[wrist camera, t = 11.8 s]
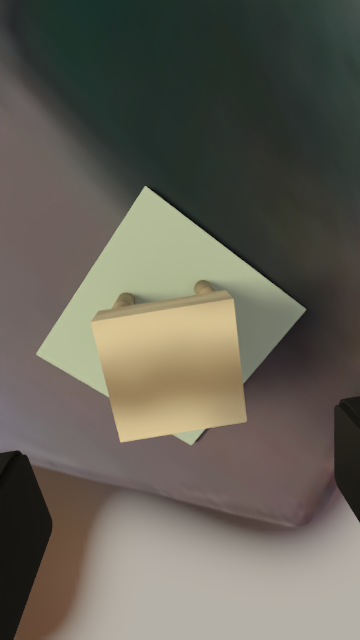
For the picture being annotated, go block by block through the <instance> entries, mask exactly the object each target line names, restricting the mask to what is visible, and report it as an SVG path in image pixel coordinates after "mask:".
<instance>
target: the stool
mask: <svg viewBox="0 0 360 640" xmlns="http://www.w3.org/2000/svg"><path fill="white" fill-rule="evenodd" d="M194 291H195V293H196V295H193V296H187V297H181V298H175V299H168V300H162V301H156V302H150V303H144V304H138V305H134V304H135V299H134V297H133V295H132V294H130V293H127V292H125V293H122V294H120V295H119V297H118V298H117V300H116V302H115V303H114V305H113V307H112V308H111V309H107V310H101V311H98V312H97V314H96V315H95V316H94V318H93V319H92V320H91V326H92V330H93V334H94V338H95V342H96V346H97V350H98V354H99V358H100V362H101V366H102V370H103V374H104V378H105V382H106V386H107V390H108V394H109V398H110V402H111V406H112V410H113V414H114V418H115V422H116V426H117V430H118V434H119V438H120V442H126V441H132V440H138V439H144V438H150V437H157V436H163V435H169V434H175V433H181V432H187V431H194V430H200V429H206V428H212V427H218V426H224V425H230V424H237V423H243V422H247V418H246V409H245V400H244V390H243V381H242V372H241V363H240V353H239V344H238V335H237V326H236V316H235V307H234V299H233V297H232V296H231V295H230V294H229V293H228V292H227V291H226V290H224V291H218V292H216V291H215V290H214V288H213V287H212V286H211V284H210V283H209V282H208V281H206V280H200V281H198V282H197V283H196V284H195V286H194Z"/></svg>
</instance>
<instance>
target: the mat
mask: <svg viewBox="0 0 360 640" xmlns="http://www.w3.org/2000/svg"><path fill="white" fill-rule="evenodd" d="M200 280H206V281H208V282H209V283H210V284H211V286H212V287H213V288H214V290H215V291H216V292H218V291H224V290H226V291H227V292H228V293H229V294H230V295H231V296H232V297H233V299H234V307H235V316H236V326H237V335H238V344H239V353H240V363H241V372H242V381H243V384H244V383H245V381H246V380H247V379H248V378H249V377H250V376H251V374H252V373H253V372H254V371H255V370H256V368H257V367H258V366H259V365H260V364H261V363H262V361H263V360H264V359H265V358H266V357H267V355H268V354H269V353H270V352H271V351H272V350H273V348H274V347H275V346H276V345H277V344H278V343H279V341H280V340H281V339H282V338H283V337H284V335H285V334H286V333H287V332H288V331H289V330H290V328H291V327H292V326H293V325H294V324H295V322H296V321H297V320H298V319H299V318H300V317H301V315H302V314H303V313H304V312H305V311H306V309H305V308H304V307H303V306H301V305H300V304H299V303H297V302H296V301H295V300H294V299H292V298H291V297H290V296H288V295H287V294H286V293H284V292H283V291H282V290H281V289H279V288H278V287H277V286H275V285H274V284H273V283H271V282H270V281H269V280H267V279H266V278H265V277H264V276H262V275H261V274H260V273H258V272H257V271H256V270H254V269H253V268H252V267H251V266H249V265H248V264H247V263H245V262H244V261H243V260H241V259H240V258H239V257H237V256H236V255H235V254H234V253H232V252H231V251H230V250H228V249H227V248H226V247H224V246H223V245H222V244H221V243H219V242H218V241H217V240H215V239H214V238H213V237H211V236H210V235H209V234H207V233H206V232H205V231H204V230H202V229H201V228H200V227H198V226H197V225H196V224H194V223H193V222H192V221H190V220H189V219H188V218H187V217H185V216H184V215H183V214H181V213H180V212H179V211H177V210H176V209H175V208H174V207H172V206H171V205H170V204H168V203H167V202H166V201H164V200H163V199H162V198H160V197H159V196H158V195H157V194H155V193H154V192H153V191H151V190H150V189H149V188H147V187H146V186H145V187H144V189H143V190H142V192H141V193H140V195H139V196H138V198H137V199H136V201H135V203H134V204H133V206H132V207H131V209H130V210H129V212H128V213H127V215H126V216H125V218H124V220H123V221H122V223H121V224H120V226H119V227H118V229H117V230H116V232H115V233H114V235H113V236H112V238H111V240H110V241H109V243H108V244H107V246H106V247H105V249H104V250H103V252H102V253H101V255H100V256H99V258H98V260H97V261H96V263H95V264H94V266H93V267H92V269H91V270H90V272H89V273H88V275H87V276H86V278H85V280H84V281H83V283H82V284H81V286H80V287H79V289H78V290H77V292H76V293H75V295H74V297H73V298H72V300H71V301H70V303H69V304H68V306H67V307H66V309H65V310H64V312H63V313H62V315H61V317H60V318H59V320H58V321H57V323H56V324H55V326H54V327H53V329H52V330H51V332H50V333H49V335H48V337H47V338H46V340H45V341H44V343H43V344H42V346H41V347H40V349H39V350H38V352H37V353H36V355H38V356H40V357H41V358H43V359H45V360H46V361H48V362H50V363H51V364H53V365H55V366H57V367H58V368H60V369H62V370H63V371H65V372H67V373H69V374H70V375H72V376H74V377H75V378H77V379H79V380H80V381H82V382H84V383H86V384H87V385H89V386H91V387H92V388H94V389H96V390H98V391H99V392H101V393H103V394H104V395H106V396H108V397H109V394H108V390H107V386H106V382H105V378H104V374H103V370H102V366H101V362H100V358H99V354H98V350H97V346H96V342H95V338H94V334H93V330H92V326H91V320H92V319H93V318H94V316H95V315H96V314H97V312H98V311H101V310H107V309H111V308H112V307H113V305H114V303H115V302H116V300H117V298H118V297H119V295H120V294H122V293H125V292H127V293H130V294H132V295H133V297H134V299H135V304H134V305H138V304H144V303H150V302H156V301H162V300H168V299H175V298H181V297H187V296H193V295H196V293H195V291H194V286H195V284H196V283H197V282H198V281H200ZM204 430H205V429H200V430H194V431H187V432H181V433H175V434H173V435H174V436H176V437H178V438H179V439H181V440H183V441H185V442H186V443H188V444H190V445H192V444H193V443H194V442H195V440H196V439H197V438H198V437H199V436H200V435H201V433H202V432H203V431H204Z"/></svg>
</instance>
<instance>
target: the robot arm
mask: <svg viewBox="0 0 360 640" xmlns="http://www.w3.org/2000/svg"><path fill="white" fill-rule="evenodd" d="M334 474H335V480H336V483H337V486H338V488H339V490H340V491H341V493H342V494H343V496H344V498H345V499H346V501H347V503H348V504H349V506H350V508H351V509H352V511H353V512H354V514H355V516H356V517H357V519H358V520H359V522H360V396H359V397H353V398H346V399H342V400H340V403H339V405H336V406H335V409H334ZM51 532H52V519H51V516H50V514H49V511H48V508H47V506H46V503H45V500H44V498H43V495H42V493H41V490H40V488H39V485H38V483H37V480H36V477H35V475H34V472H33V470H32V467H31V464H30V462H29V459H28V457H27V456H26V455H22V453H21V452H20V451H11V452H5V453H0V640H13V639H14V636H15V634H16V631H17V628H18V625H19V622H20V619H21V617H22V614H23V611H24V608H25V605H26V603H27V600H28V597H29V594H30V591H31V588H32V586H33V583H34V580H35V577H36V574H37V572H38V568H39V566H40V563H41V560H42V558H43V555H44V552H45V549H46V546H47V544H48V541H49V537H50V535H51Z"/></svg>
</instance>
